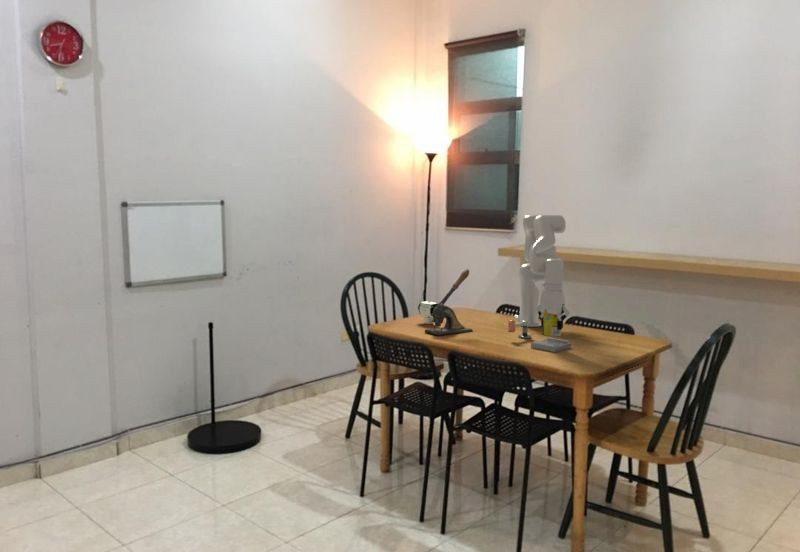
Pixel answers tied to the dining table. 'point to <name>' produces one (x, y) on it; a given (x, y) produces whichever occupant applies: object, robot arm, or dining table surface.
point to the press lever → (517, 324)
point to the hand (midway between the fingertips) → (551, 327)
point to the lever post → (524, 333)
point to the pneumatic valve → (427, 311)
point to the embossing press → (448, 314)
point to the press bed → (551, 345)
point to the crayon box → (550, 325)
